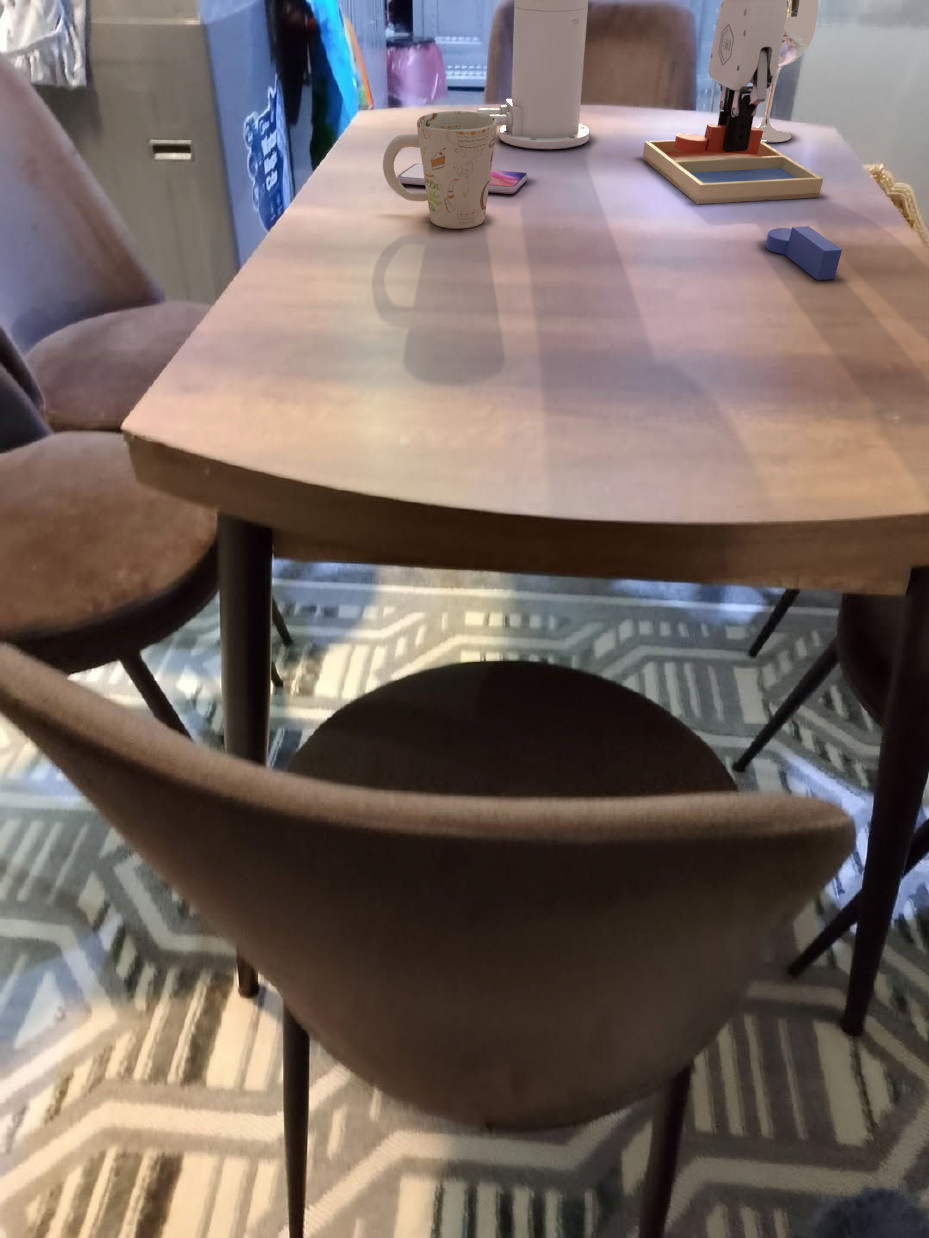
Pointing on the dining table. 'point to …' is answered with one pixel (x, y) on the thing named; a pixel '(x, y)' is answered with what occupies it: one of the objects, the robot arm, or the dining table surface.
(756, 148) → the rust-red brick
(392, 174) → the mug
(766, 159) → the tray
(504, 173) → the smartphone
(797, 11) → the wineglass
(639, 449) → the dining table surface
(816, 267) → the blue foam brick
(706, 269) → the dining table surface
